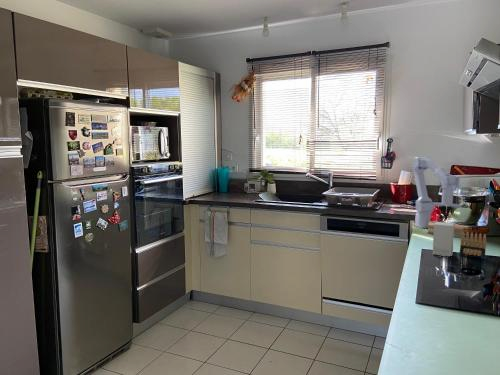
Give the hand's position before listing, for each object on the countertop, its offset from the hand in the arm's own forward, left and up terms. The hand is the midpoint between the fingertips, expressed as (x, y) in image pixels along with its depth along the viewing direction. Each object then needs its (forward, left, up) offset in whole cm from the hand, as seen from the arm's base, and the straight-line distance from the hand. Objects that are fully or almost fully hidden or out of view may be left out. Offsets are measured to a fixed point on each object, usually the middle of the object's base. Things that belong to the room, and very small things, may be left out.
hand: (445, 219), depth 232 cm
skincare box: (+41, -25, -9) cm, 49 cm away
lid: (-2, +1, -4) cm, 5 cm away
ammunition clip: (+44, -12, -9) cm, 47 cm away
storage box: (-2, +1, -9) cm, 9 cm away
